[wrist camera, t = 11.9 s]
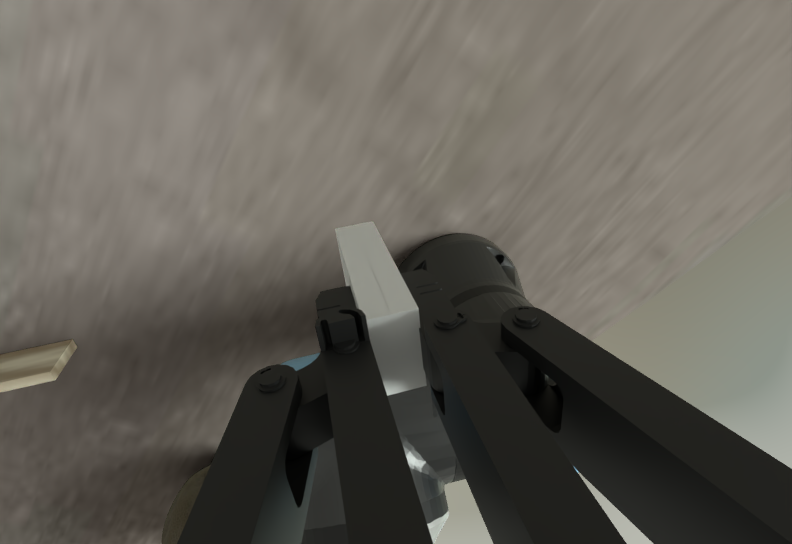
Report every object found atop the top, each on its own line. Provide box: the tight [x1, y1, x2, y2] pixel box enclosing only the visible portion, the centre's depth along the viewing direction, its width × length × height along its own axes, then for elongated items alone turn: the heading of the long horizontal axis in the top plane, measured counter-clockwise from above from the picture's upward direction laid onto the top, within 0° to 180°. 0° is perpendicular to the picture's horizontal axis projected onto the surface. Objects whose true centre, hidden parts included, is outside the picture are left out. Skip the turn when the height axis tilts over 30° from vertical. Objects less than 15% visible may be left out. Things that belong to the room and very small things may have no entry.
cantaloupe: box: [162, 466, 210, 544], centre depth 51 cm, size 14×14×15 cm
